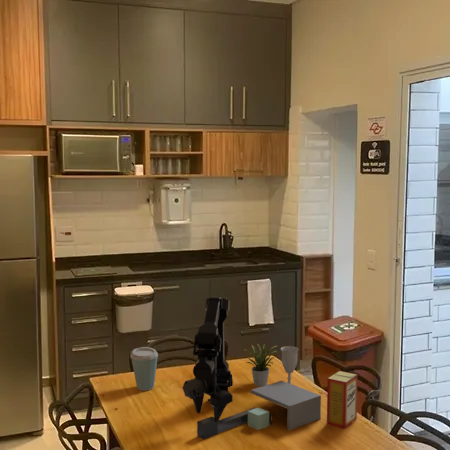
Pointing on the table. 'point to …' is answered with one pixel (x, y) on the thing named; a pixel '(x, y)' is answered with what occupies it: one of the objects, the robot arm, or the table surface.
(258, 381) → the house plant
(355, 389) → the baking soda box
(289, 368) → the chalice
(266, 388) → the cubby
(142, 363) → the disposable coffee cup
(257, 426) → the block
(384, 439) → the table surface
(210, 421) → the dark grey hook tool
